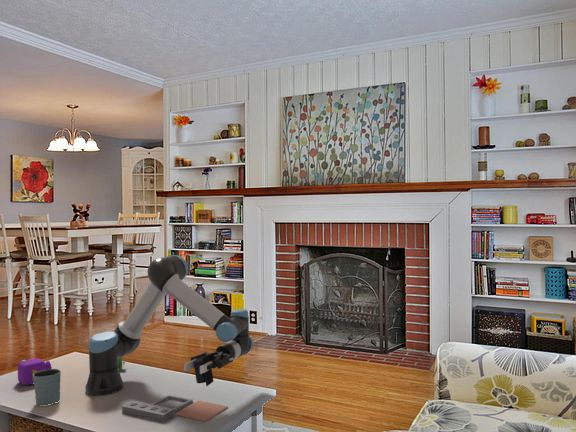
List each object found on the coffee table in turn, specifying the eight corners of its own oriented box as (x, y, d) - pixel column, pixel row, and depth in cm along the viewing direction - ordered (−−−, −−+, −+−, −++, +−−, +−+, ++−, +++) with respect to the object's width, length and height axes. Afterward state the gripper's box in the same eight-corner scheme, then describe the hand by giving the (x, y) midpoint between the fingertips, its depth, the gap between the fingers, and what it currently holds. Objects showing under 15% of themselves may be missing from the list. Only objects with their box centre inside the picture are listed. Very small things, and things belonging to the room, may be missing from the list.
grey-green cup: (57, 406, 193) (56, 375, 193) (29, 408, 191) (28, 377, 191) (64, 396, 203) (63, 367, 203) (38, 398, 201) (37, 369, 201)
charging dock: (122, 412, 185) (121, 405, 185) (157, 395, 202) (157, 388, 202) (163, 422, 176) (163, 414, 176) (196, 402, 193) (196, 395, 193)
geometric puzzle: (110, 363, 241) (109, 352, 236) (125, 361, 243) (124, 351, 238) (110, 375, 235) (109, 365, 231) (125, 373, 237) (124, 363, 233)
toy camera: (56, 378, 226) (56, 356, 226) (27, 387, 214) (26, 365, 214) (43, 374, 232) (42, 353, 232) (13, 383, 220) (13, 361, 220)
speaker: (218, 381, 184) (214, 353, 185) (207, 386, 180) (203, 358, 180) (204, 379, 189) (201, 352, 189) (193, 384, 185) (189, 357, 185)
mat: (175, 415, 182) (175, 413, 182) (198, 401, 194) (198, 400, 194) (206, 421, 175) (206, 420, 175) (227, 407, 188) (227, 406, 188)
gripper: (248, 364, 196) (214, 382, 176) (208, 358, 205) (172, 375, 184) (247, 345, 196) (214, 361, 176) (208, 340, 205) (171, 355, 184)
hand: (192, 368), depth 180 cm, fingers closed on speaker, 6 cm apart
